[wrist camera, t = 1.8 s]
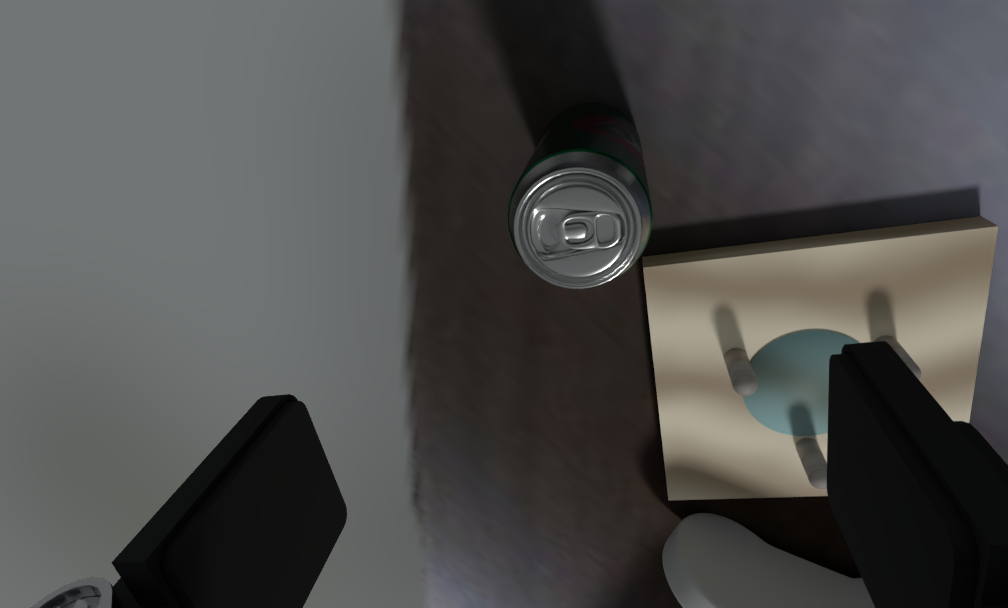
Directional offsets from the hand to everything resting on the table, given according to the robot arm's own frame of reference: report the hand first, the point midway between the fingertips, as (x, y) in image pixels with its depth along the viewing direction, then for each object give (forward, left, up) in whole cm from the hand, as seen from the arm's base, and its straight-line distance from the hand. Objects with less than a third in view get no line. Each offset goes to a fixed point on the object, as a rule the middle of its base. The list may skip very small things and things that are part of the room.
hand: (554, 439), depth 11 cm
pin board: (+14, +10, -23) cm, 28 cm away
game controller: (+29, +10, -23) cm, 38 cm away
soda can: (0, 0, -23) cm, 23 cm away
